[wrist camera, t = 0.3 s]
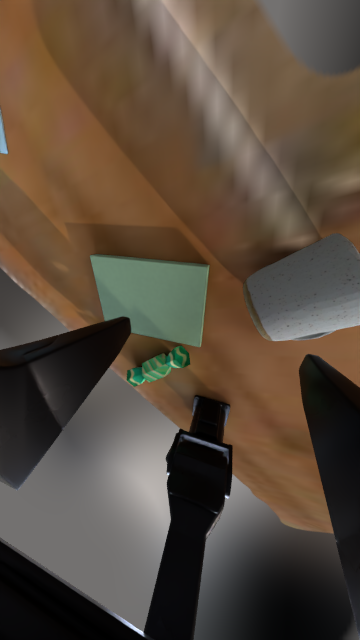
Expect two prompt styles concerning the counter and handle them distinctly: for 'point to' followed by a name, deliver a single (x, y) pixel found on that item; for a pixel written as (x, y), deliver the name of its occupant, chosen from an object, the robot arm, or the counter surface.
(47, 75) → the counter surface
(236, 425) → the counter surface
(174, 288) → the cutting board
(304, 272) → the ceramic mug
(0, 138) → the gum box
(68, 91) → the counter surface
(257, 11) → the counter surface
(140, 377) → the candy
